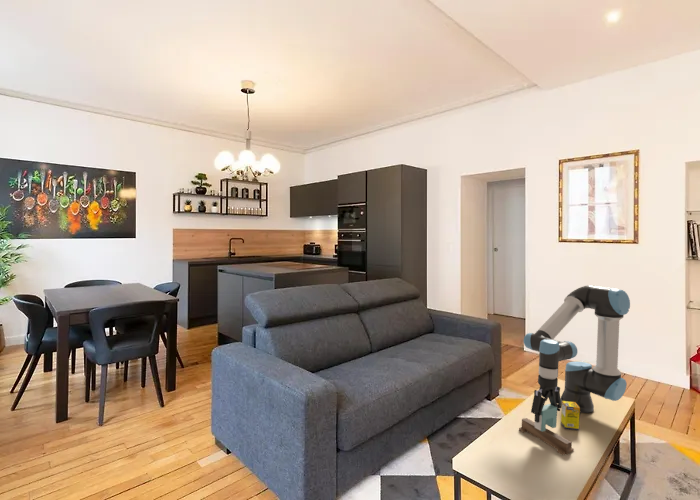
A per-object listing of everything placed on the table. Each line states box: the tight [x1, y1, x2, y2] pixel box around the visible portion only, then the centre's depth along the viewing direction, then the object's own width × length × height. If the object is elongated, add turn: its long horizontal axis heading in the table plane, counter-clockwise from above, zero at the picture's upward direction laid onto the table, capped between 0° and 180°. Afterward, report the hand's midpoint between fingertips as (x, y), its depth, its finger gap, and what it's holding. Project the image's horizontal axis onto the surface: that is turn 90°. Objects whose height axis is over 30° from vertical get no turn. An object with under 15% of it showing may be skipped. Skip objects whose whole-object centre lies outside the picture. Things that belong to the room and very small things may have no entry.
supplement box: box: [560, 401, 581, 431], centre depth 179 cm, size 6×6×11 cm
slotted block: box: [536, 403, 558, 432], centre depth 167 cm, size 9×4×9 cm, turn 116°
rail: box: [518, 417, 575, 456], centre depth 167 cm, size 7×22×4 cm, turn 26°
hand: (545, 426), depth 167 cm, fingers closed on slotted block, 9 cm apart
